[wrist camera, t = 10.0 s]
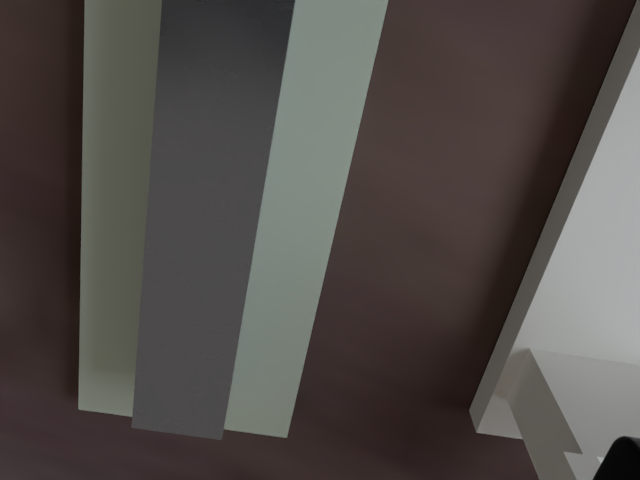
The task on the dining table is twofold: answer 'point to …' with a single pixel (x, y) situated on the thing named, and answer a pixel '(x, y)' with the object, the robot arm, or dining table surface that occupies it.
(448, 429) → the dining table surface
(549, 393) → the stand
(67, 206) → the dining table surface
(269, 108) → the metal rail
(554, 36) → the dining table surface
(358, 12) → the pale sage plank
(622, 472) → the robot arm
